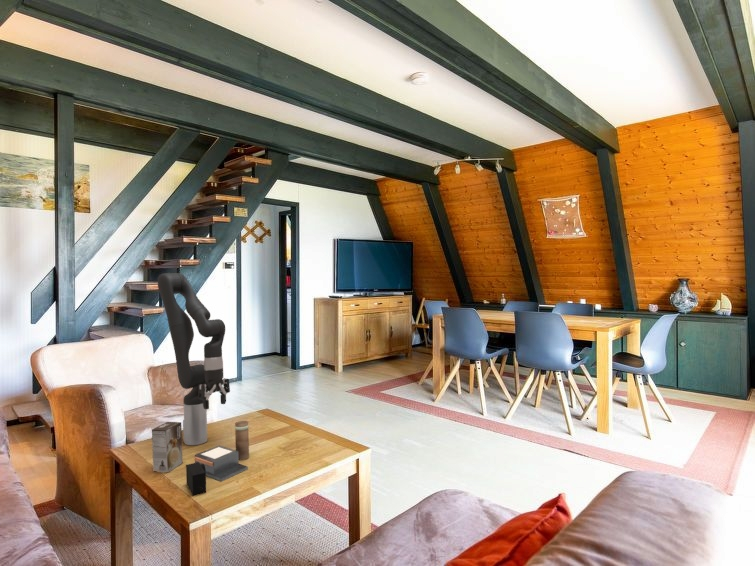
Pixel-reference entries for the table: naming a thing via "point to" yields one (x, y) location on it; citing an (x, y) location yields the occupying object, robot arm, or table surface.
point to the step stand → (220, 462)
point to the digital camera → (196, 478)
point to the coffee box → (167, 446)
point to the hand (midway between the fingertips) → (214, 406)
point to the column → (242, 439)
